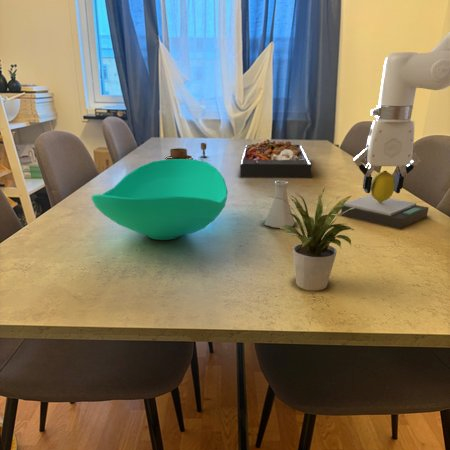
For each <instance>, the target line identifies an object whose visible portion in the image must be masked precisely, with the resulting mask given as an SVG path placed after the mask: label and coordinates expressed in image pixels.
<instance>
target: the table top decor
mask: <svg viewBox="0 0 450 450" xmlns="http://www.w3.org/2000/svg"><path fill="white" fill-rule="evenodd" d="M228 192H229V191H228V188H227V183H226V180H225V178H224V176H223V175H222V174H221V172H220V171H219V169H217V167H215V166H213V165H211V164H210V163H209V162H206V161H202V160H199V159H193V160H191V159H167V160H165V159H161V160H154V161H151V162H149V163H146V164H143V165H140V166H138V167H136V168H135V169H133V170H132V171H130V172H129V173H127V174H125V176H124V177H122V178H121V180H120V181H119V182H117V183H116V185H115V186H114V187H112V188H111V189H109V190H107V191H105V192H103V193H102V194H93V195H92V196H91V200H92V203H93V204H94V207H95V208H96V209H97V210H98V211H99V212H100V213H102V215H103V216H105V217H107V218H108V219H110V220H111V221H113V222H114V223H116V224H117V225H118V226H122V227H124V228H126V229H128V230H131V231H133V232H136V233H139V234H142V235H144V236H146V237H148V238H150V239H152V240H156V241H159V240H160V241H169V240H170V241H171V240H175V239H178V238H180V237H182V236H187V235H191V234H194V233H197V232H199V231H201V230H203V229H204V228H206V227H207V226H209V225H211V223H212V222H214V220H216V218H217V217H218V216H219V215H220V214H221V213H222V211H223V210H224V208H225V207H226V204H227V200H228V194H229V193H228Z"/></svg>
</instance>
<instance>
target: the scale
mask: <svg viewBox="0 0 450 450" xmlns="http://www.w3.org/2000/svg"><path fill="white" fill-rule="evenodd" d="M354 207H357V208H354ZM351 208H353V209H351ZM349 209H350V210H349ZM347 210H348V211H347ZM345 211H346V212H345ZM344 212H345V213H344ZM428 213H429V207H428V206H423V205H417V202H413V201H407V200H402V199H397V198H391V197H390V198H389V199H387V200H385V201H383V202H382V203H379V202H378V201H377V200H376V199H374V198H373V196H372V194H371V193H369V194H367V195H364V196H361V197H358V198H355V199H352V200H349V201H346V202H345V203H344V205H343V208H342V209H341V210H340V215H341V214H342V215H341V216H343V217H347V218H352V219H356V220H360V221H364V222H369V223H372V224H378V225H381V226H386V227H390V228H394V229H398V230H401V229H403V228H405V227H408V226H410V225H412V224H414V223H416V222H419V221H420V220H422V219H423V220H424V219H425V218H427V217H428Z"/></svg>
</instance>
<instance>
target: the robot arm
mask: <svg viewBox="0 0 450 450" xmlns="http://www.w3.org/2000/svg"><path fill="white" fill-rule="evenodd" d="M381 77H382V78H381V84H380V90H379V98H378V105H376V107H375V108H371V110H370V116H374V117H375V119H374V120H372V124H371V126H370V129H369V134H368V136H367V141H366V145H365V148H364V149H363V150H362V151H361V152H360V153H359V154H357V155H356V156H355V157H354V158H353V160H352V161H353V163H354V164H355V165H356V167H357V168H358V169H359V171H360V172H361V173H362V174H363V181H362V189H363V191H364V192H365V193H366V194H371V184H372V181H373V177H372V174H373V172H374V170H375V169H376V167H396V171H397V174H395V175H394V182H395V187H394V191H393V192H394V193H396V194H400V193H401V190H403V187H404V181H405V177H407V176H408V174H409V173H410V172H411V171H413V170H414V168H415V167H416V166H417V165H418V164H420V163H421V161H422V160H421V158H420V157H419V156H418V154H417V153H416V152H415V151H414V143H415V141H414V140H415V121H414V120H412V119H411V118H412V115H413V109H414V104H415V96H416V91H417V89H425V90H431V91H440V90H444V89H447V88H448V87H450V31H449V32H448V33H447V34H446V35H445V36H444V37H443V38H442V39H441V40H440V41H439V42H438V43H437V44H436V46H434V48H432V50H431V51H428V52H420V53H419V52H411V51H406V52H405V51H404V52H403V51H401V52H392V53H389V54H388V55H387V56H386V57H385V59H384V64H383V70H382V76H381ZM363 160H364V162H366V163H367V164H366V166H365V165H364V164H363V162H362V161H363Z"/></svg>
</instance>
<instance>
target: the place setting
mask: <svg viewBox="0 0 450 450" xmlns="http://www.w3.org/2000/svg"><path fill="white" fill-rule="evenodd" d="M200 150H201V151H202V156H200V158H202V159H204V158H208V156H206V150H207V142H201V143H200ZM169 152H170V155H167V156H165V157H164V160H165V159H166V158H167V157H172V158H167V159H191V160H194V156H193V155H188V149H187V148H184V147H183V148H182V147H180V148H179V147H177V148H176V147H175V148H170V150H169ZM167 159H166V160H167Z"/></svg>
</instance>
